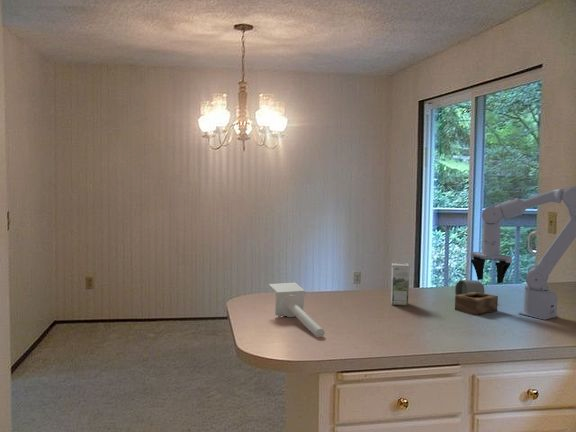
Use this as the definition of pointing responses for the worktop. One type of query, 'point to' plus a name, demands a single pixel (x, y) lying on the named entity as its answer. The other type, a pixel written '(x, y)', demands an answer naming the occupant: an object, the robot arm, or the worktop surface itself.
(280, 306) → the white block with rod
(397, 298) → the syrup box
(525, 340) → the worktop surface
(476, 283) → the ceramic mug
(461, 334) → the worktop surface
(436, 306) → the worktop surface
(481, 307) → the walnut box
